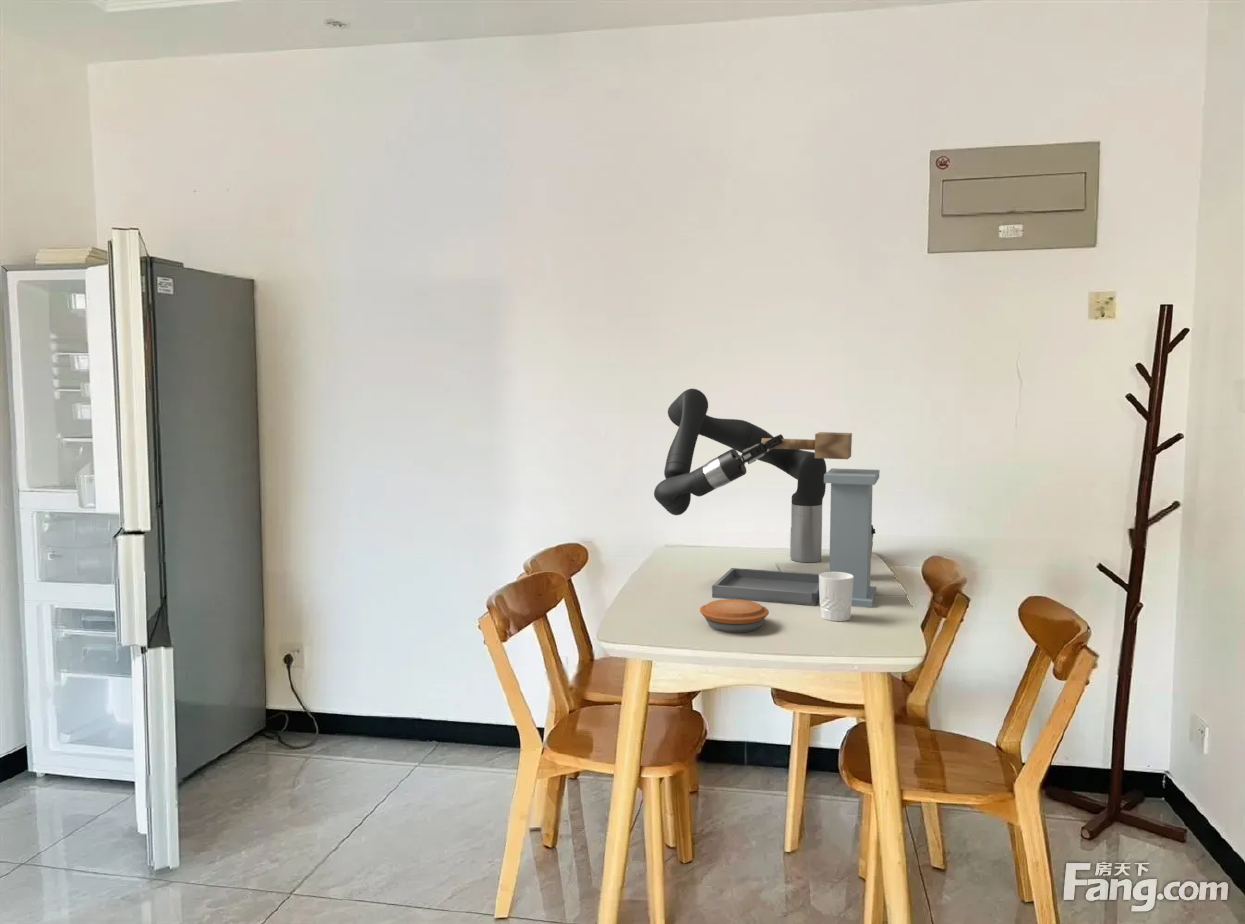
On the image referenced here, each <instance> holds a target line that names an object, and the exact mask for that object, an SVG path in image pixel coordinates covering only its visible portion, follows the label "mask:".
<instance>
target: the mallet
mask: <svg viewBox="0 0 1245 924" xmlns="http://www.w3.org/2000/svg"><path fill="white" fill-rule="evenodd" d="M770 439H772V438H762V440H761V443H762V442H766V441H768V440H770ZM852 440H853V433H852V432H833V431H832V432H830V431H829V432H827V431H826V432H825V431H821V432H820V431H819V432H817V433H815V434H814V439H808V438H807V439H806V438H805V439H802V438H784V439H782V441H783V442H782V443H781V444H779V445H777V446H775V447H773V448H772V449H799V450H803V451H807V450H808V451H814V453H815V458H824V460H825V459H830V460H831V459H832V460H849V459H850V458H851V457H852V443H853V442H852ZM766 443H767V442H766Z"/></svg>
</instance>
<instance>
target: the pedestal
mask: <svg viewBox="0 0 1245 924" xmlns="http://www.w3.org/2000/svg"><path fill="white" fill-rule="evenodd" d="M879 479H880V469H869V468H868V469H866V468H865V469H864V468H863V469H861V468H838V467H837V468H830V469H829V470H828V471H826V474H824V483H826V484H830V512H829V513H830V514H829V515H830V516H829V517H830V518H829V521H830V522H829V524H830V526H829V528H830V529H829V568H828V569H829V571H828V572H843V573H848V574H851V575H853V576H854V581H853V596H852V606H851V607H861V608H862V607H863V608H873V606H874V602H875V599H876V596H877V593H878V592H877V591H878V590H877V589H878V586H873V585H871V570H872V569H871V568H872V567H871V565H872V564H871V563H872V554H871V529H872V525H873V524H872V523H873V522H872V521H873V520H872V519H873V518H872V517H873V486H874V485H876V483H877V482H878V481H879ZM875 595H876V596H875Z"/></svg>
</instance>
